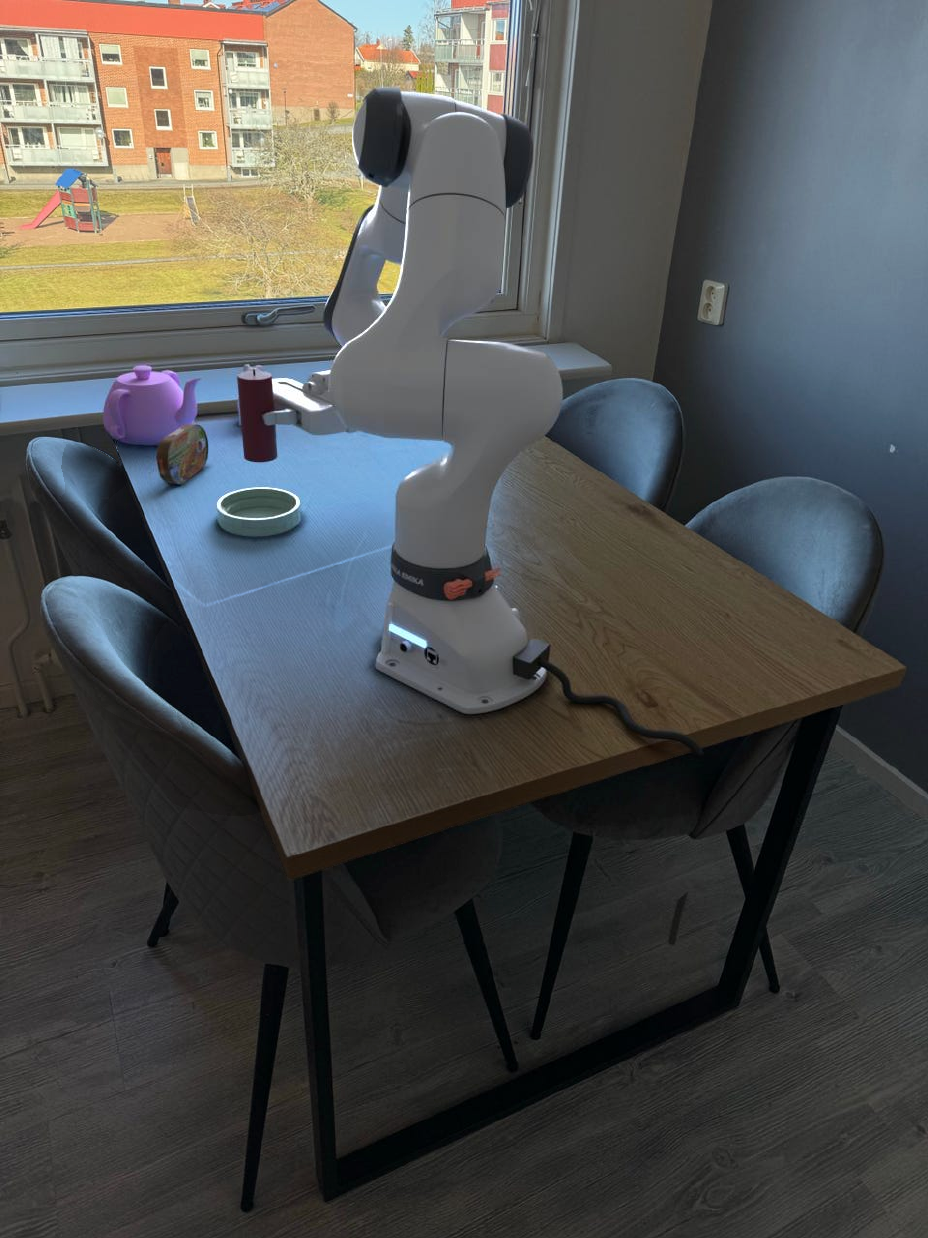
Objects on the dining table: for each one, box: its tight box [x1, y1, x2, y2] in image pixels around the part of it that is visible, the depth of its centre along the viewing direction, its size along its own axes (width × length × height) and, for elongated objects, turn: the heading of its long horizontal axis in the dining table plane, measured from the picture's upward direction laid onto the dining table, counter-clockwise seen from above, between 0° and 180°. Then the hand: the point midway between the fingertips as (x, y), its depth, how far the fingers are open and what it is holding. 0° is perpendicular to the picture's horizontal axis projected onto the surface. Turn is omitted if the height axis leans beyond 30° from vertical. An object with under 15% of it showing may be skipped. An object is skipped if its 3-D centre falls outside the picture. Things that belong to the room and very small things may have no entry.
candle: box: [236, 369, 278, 463], centre depth 136 cm, size 5×5×14 cm
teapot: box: [102, 365, 202, 446], centre depth 172 cm, size 22×22×14 cm
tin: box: [155, 423, 209, 485], centre depth 158 cm, size 15×3×8 cm, turn 168°
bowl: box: [216, 487, 302, 538], centre depth 144 cm, size 13×13×3 cm
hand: (252, 413), depth 135 cm, fingers closed on candle, 5 cm apart
